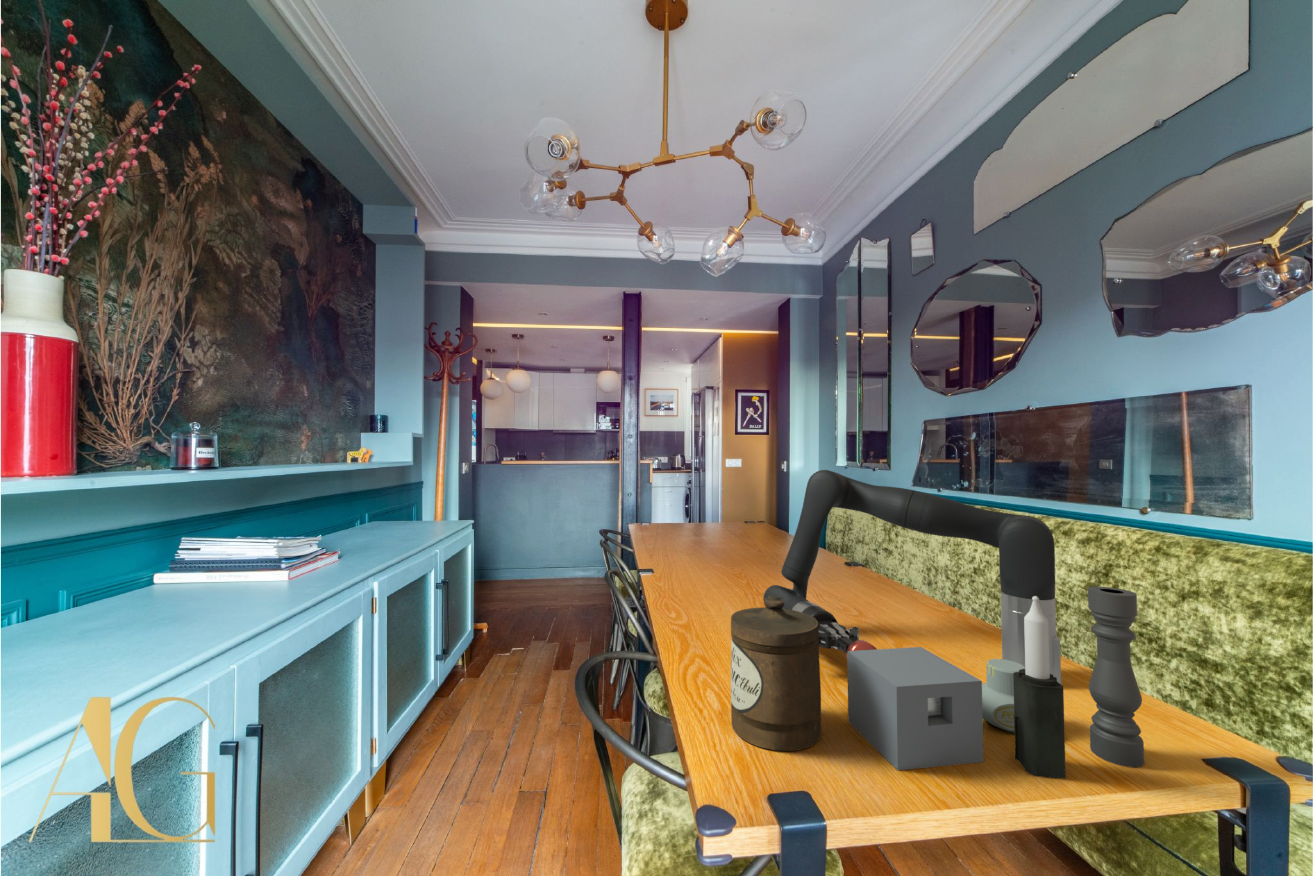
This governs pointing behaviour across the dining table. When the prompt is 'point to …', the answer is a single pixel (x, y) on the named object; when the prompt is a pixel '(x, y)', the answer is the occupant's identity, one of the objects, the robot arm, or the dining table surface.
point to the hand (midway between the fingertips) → (853, 650)
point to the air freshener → (999, 693)
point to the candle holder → (1114, 678)
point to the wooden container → (775, 677)
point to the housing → (915, 707)
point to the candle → (1038, 704)
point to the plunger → (933, 703)
